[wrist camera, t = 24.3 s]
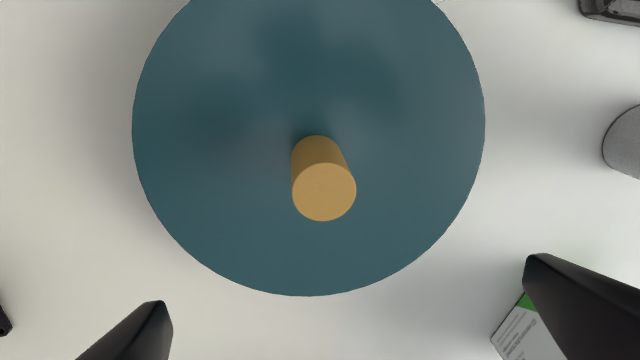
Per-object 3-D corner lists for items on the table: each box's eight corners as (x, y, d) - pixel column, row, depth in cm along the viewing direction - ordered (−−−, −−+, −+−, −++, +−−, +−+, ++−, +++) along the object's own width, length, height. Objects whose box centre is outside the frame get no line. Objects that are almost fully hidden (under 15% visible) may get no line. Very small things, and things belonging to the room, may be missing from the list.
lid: (187, 299, 21) (158, 375, 16) (89, -24, 14) (-10, -54, 10) (459, 265, 22) (507, 328, 17) (492, -55, 15) (586, -96, 10)
